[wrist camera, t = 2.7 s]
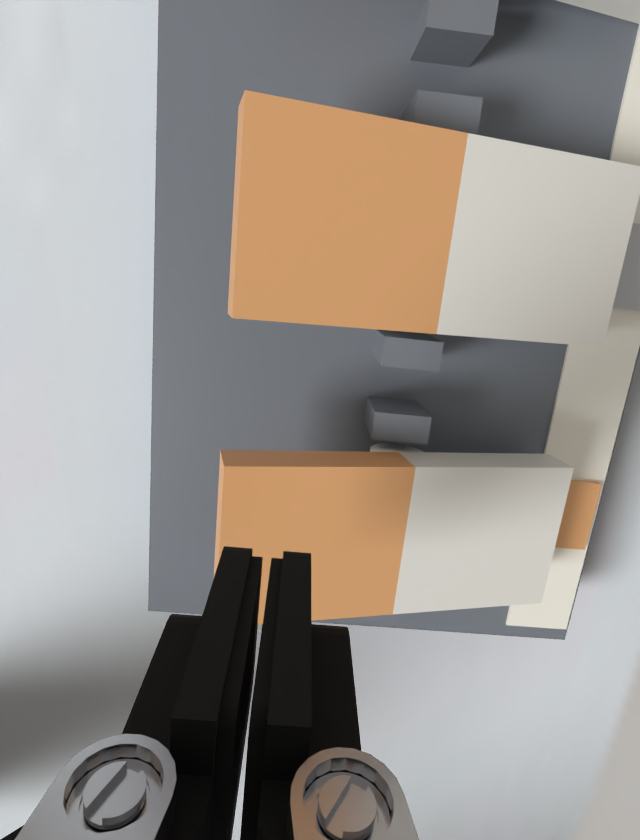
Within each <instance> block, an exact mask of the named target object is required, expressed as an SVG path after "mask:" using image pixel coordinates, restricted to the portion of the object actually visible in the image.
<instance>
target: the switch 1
mask: <svg viewBox="0 0 640 840" xmlns="http://www.w3.org/2000/svg"><path fill="white" fill-rule="evenodd" d="M639 196H640V166H636V165H631V164H626V163H621V162H615V161H610V160H605V159H600V158H595V157H590V156H584V155H579V154H574V153H569V152H564V151H559V150H553V149H548V148H543V147H538V146H533V145H527V144H522V143H517V142H512V141H507V140H502V139H496V138H491V137H486V136H481V135H476V134H471V133H465V132H460V131H455V130H450V129H445V128H439V127H434V126H429V125H424V124H419V123H414V122H408V121H403V120H398V119H393V118H388V117H383V116H377V115H372V114H367V113H362V112H357V111H351V110H346V109H341V108H336V107H331V106H326V105H320V104H315V103H310V102H305V101H300V100H295V99H289V98H284V97H279V96H274V95H269V94H263V93H258V92H253V91H248V90H245V91H244V94H243V96H242V99H241V101H240V104H239V108H238V127H237V145H236V164H235V183H234V202H233V221H232V240H231V258H230V277H229V296H228V314H229V315H230V316H231V317H232V318H235V319H248V320H261V321H274V322H287V323H300V324H313V325H325V326H338V327H351V328H364V329H377V330H390V331H403V332H415V333H428V334H441V335H454V336H467V337H480V338H493V339H505V340H518V341H531V342H544V343H557V344H570V345H583V346H595V347H603V345H604V341H605V337H606V333H607V329H608V324H609V320H610V316H611V312H612V308H613V304H614V300H615V295H616V291H617V287H618V283H619V279H620V275H621V270H622V266H623V262H624V258H625V254H626V250H627V245H628V241H629V237H630V233H631V229H632V225H633V221H634V216H635V212H636V208H637V204H638V200H639Z"/></svg>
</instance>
